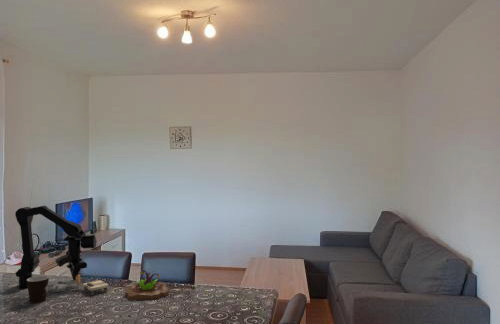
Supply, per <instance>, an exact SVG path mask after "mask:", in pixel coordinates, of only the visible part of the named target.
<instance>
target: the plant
mask: <svg viewBox="0 0 500 324" xmlns="http://www.w3.org/2000/svg"><path fill="white" fill-rule="evenodd" d="M144 273H145V277H146V278H144V279H140V280H141V281H139V280H136V283H134V284H132V285H130V286H129V287H127V288H126V289H125V294H124V297H126V298H127V299H128V301H143V299H146V300H149V299H151V300H157V299H158V298H159V299H160V298H162V297H163V298H165V296H166V297H167V296H168V295H169V293H170V292H169V288H168V284H167V283H165V282H162V281H158V280H159V278H160V277H161V275H160V274H158V273H152V275H151V273H150V272H147V270H141V271H140V272H139V274H140V275H144ZM154 276H157V278H156V279H154V280H153V279H152V278H153V277H154Z"/></svg>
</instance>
